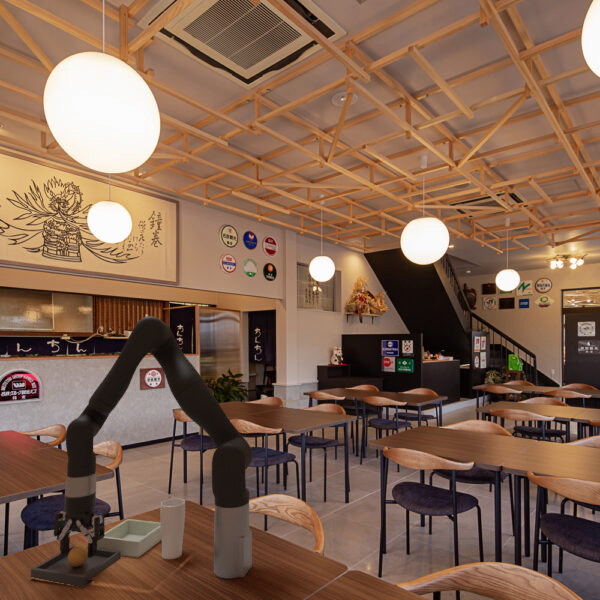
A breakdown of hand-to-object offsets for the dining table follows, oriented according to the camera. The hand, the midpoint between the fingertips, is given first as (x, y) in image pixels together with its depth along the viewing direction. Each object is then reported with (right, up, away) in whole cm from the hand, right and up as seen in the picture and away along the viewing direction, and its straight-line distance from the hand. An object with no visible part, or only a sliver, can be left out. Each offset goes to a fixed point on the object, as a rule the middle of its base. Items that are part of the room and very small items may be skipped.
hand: (78, 554), depth 116 cm
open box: (+10, -5, +13) cm, 17 cm away
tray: (0, -4, 0) cm, 4 cm away
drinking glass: (+23, -5, +6) cm, 24 cm away
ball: (0, -3, 0) cm, 3 cm away
